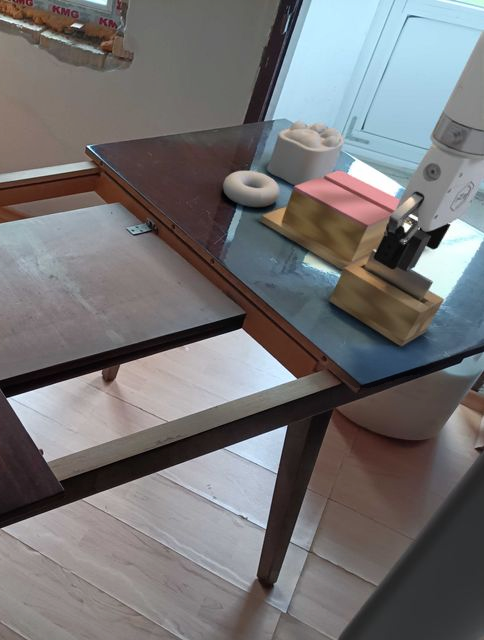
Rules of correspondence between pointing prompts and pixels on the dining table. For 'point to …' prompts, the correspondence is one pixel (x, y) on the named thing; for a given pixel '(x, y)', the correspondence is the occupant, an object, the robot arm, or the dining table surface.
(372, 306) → the knife block
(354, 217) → the cake
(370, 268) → the flat grey rectangular blade
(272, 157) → the lumpy-topped squat cylinder
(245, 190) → the donut
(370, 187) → the cake slice
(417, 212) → the robot arm
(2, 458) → the dining table surface
